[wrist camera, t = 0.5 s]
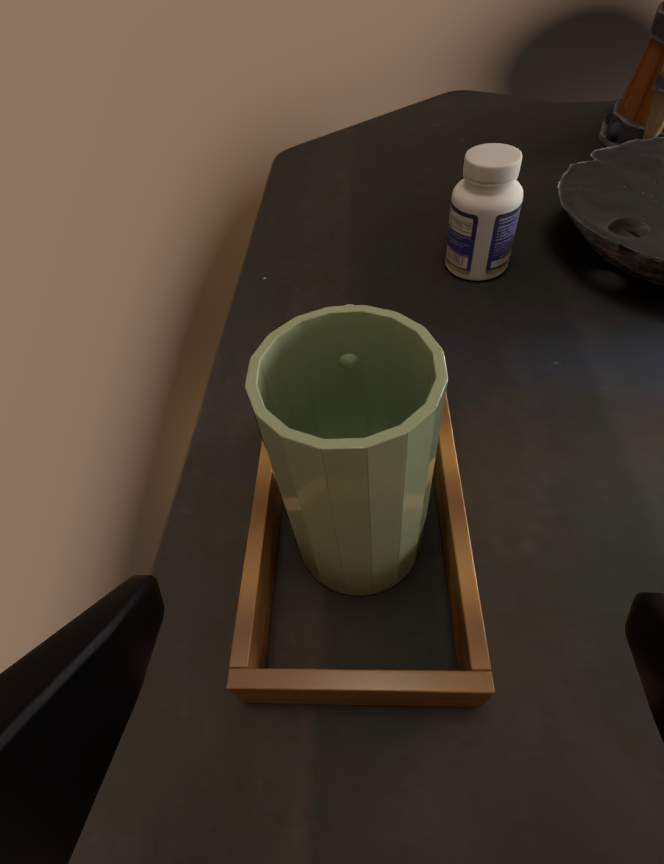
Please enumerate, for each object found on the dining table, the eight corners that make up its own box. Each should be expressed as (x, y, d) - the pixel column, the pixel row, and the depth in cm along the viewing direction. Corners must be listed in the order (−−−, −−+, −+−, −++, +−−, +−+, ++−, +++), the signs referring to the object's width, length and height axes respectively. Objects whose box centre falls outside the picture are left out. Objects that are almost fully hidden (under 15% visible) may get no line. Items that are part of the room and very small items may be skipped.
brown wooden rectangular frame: (480, 707, 21) (495, 693, 18) (244, 703, 22) (225, 689, 19) (438, 417, 31) (444, 379, 28) (279, 421, 32) (269, 386, 29)
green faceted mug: (426, 596, 24) (459, 445, 14) (293, 596, 25) (231, 451, 14) (411, 439, 30) (427, 254, 20) (305, 442, 31) (267, 264, 20)
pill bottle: (503, 246, 42) (528, 137, 35) (510, 282, 39) (539, 169, 32) (442, 247, 43) (454, 140, 36) (444, 282, 40) (458, 172, 33)
